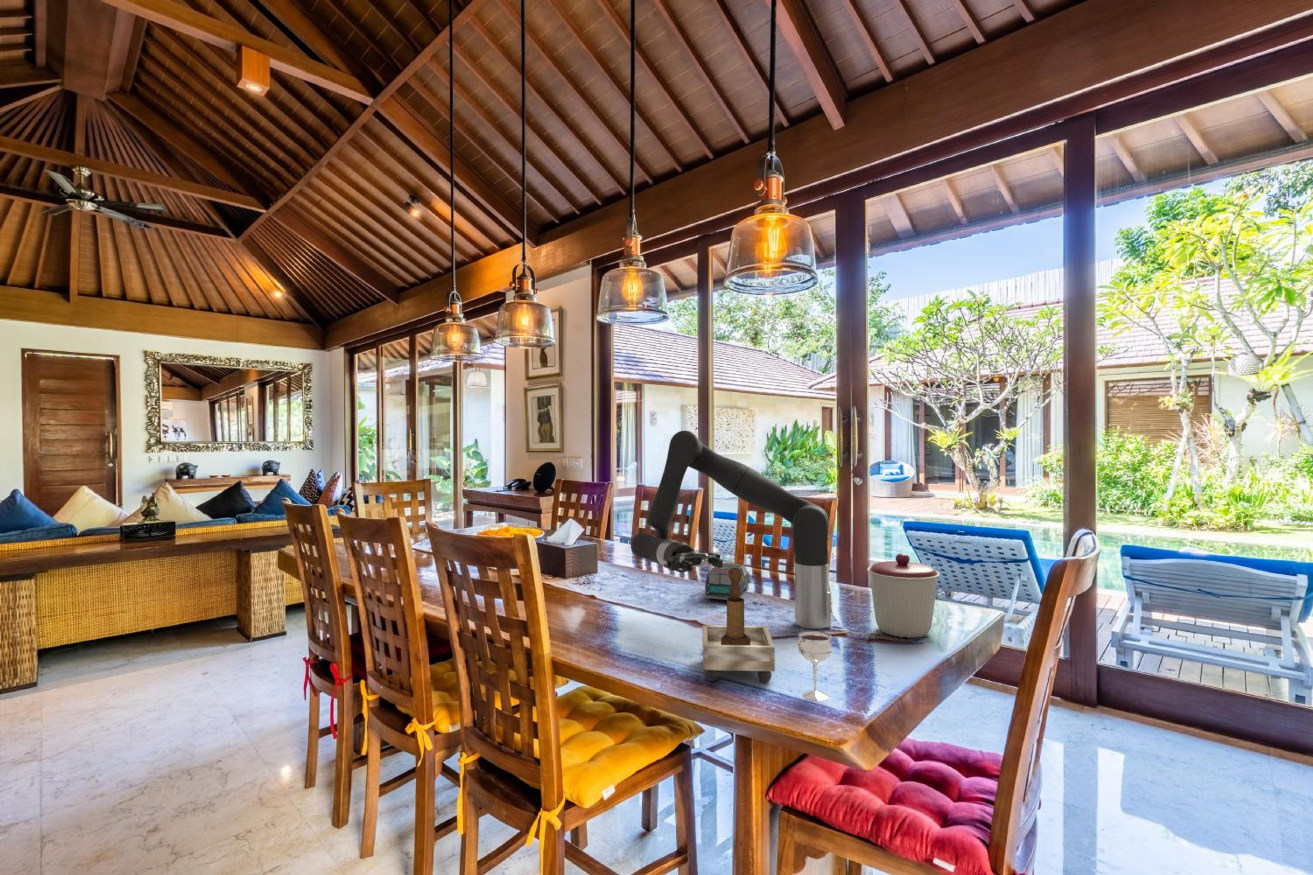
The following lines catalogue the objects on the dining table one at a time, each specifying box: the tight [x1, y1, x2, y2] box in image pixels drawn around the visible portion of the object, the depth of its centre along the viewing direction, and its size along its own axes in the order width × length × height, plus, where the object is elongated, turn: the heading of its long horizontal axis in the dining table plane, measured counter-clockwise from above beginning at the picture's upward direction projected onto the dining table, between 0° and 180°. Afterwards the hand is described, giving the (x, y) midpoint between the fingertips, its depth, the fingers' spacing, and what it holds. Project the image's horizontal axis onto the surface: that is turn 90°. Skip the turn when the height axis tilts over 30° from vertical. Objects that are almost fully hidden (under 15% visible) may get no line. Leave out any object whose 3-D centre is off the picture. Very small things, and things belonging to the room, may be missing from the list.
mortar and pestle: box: [721, 568, 750, 645], centre depth 138 cm, size 7×6×18 cm
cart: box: [702, 625, 776, 683], centre depth 138 cm, size 15×15×8 cm
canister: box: [866, 552, 941, 639], centre depth 165 cm, size 18×18×21 cm
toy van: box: [704, 562, 751, 601], centre depth 208 cm, size 11×25×10 cm, turn 161°
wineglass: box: [797, 630, 833, 701], centre depth 125 cm, size 7×7×12 cm
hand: (706, 565), depth 152 cm, fingers open, 8 cm apart
